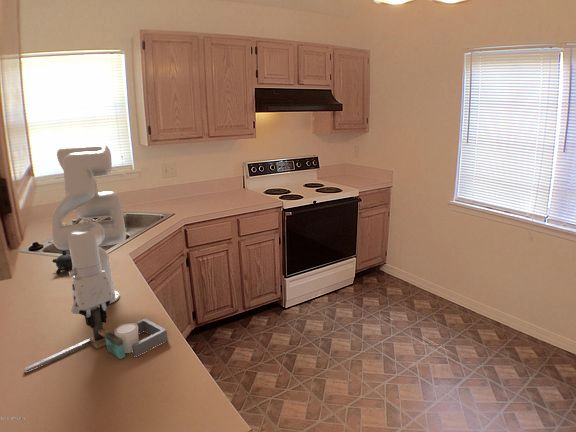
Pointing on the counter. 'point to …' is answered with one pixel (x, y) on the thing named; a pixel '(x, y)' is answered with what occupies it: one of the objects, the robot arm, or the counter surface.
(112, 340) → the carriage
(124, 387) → the counter surface
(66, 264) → the dark lidded pot
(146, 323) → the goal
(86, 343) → the rail
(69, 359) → the counter surface
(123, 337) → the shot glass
